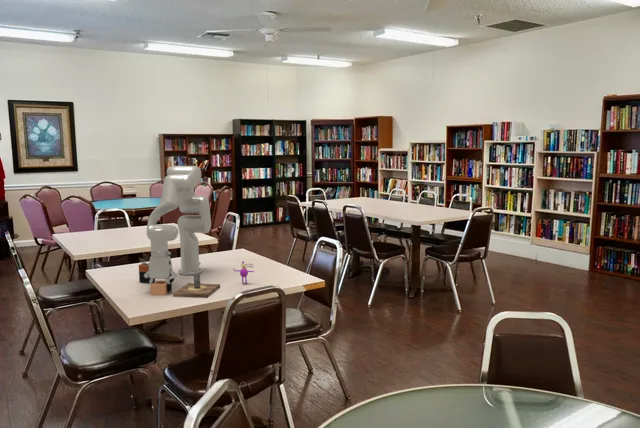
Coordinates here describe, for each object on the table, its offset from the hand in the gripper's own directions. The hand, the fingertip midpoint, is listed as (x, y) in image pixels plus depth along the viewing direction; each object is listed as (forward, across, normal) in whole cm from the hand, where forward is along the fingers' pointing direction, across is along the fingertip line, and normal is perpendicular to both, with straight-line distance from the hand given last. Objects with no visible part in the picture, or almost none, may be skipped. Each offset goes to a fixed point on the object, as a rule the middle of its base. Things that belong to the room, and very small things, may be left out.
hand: (161, 291), depth 233 cm
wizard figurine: (+1, -34, -20) cm, 40 cm away
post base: (+1, -16, -4) cm, 17 cm away
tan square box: (+1, 0, 0) cm, 1 cm away
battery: (+1, +16, -18) cm, 24 cm away
